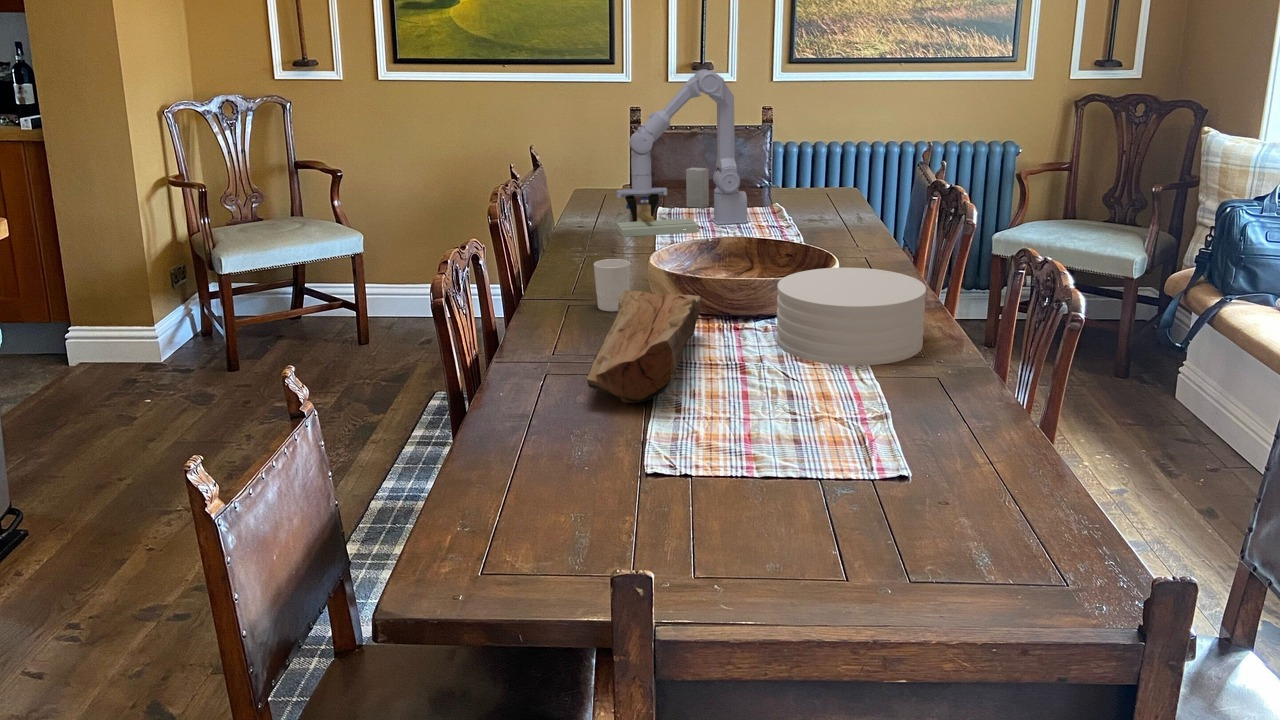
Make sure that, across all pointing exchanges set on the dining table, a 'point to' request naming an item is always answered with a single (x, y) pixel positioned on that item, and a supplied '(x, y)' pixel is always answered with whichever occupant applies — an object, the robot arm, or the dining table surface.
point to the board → (657, 227)
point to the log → (644, 345)
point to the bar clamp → (641, 201)
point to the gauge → (643, 212)
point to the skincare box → (697, 187)
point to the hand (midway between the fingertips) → (642, 220)
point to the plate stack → (850, 316)
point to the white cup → (611, 282)
